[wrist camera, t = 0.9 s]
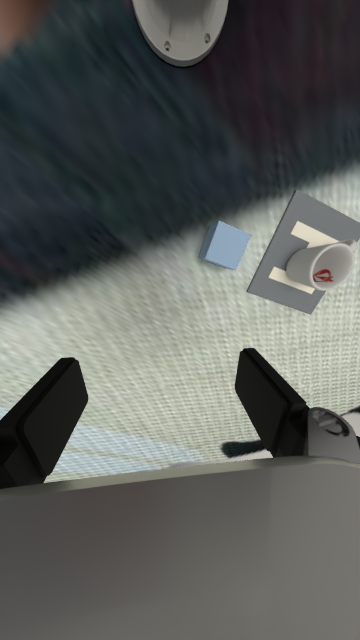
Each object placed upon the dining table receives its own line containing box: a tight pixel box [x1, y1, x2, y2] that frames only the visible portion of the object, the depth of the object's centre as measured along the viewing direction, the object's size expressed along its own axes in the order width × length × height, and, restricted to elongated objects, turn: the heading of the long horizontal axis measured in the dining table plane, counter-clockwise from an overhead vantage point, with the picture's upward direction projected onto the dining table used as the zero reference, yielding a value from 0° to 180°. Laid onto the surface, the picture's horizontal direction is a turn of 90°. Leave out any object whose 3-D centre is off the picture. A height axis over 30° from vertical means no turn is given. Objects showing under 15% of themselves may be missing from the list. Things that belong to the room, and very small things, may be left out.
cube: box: [199, 221, 251, 270], centre depth 31 cm, size 6×6×6 cm
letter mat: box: [247, 189, 360, 314], centre depth 36 cm, size 20×18×1 cm
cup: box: [286, 240, 357, 291], centre depth 32 cm, size 11×8×8 cm
